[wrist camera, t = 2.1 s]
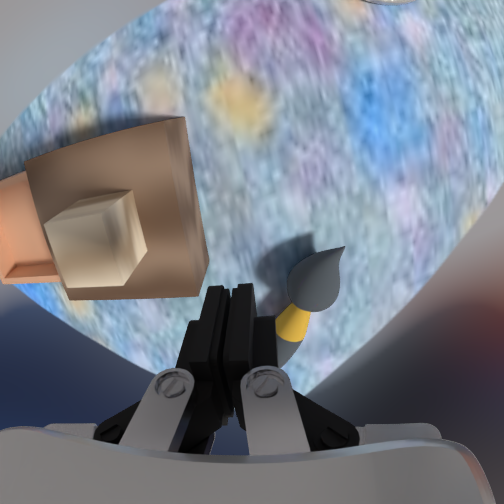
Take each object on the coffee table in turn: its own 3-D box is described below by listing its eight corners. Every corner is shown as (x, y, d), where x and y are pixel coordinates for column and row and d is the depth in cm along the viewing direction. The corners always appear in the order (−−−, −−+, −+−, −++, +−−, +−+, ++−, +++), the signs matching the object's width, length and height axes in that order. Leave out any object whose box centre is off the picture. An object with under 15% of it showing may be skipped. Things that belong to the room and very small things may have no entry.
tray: (-9, 183, 27) (-29, 194, 23) (61, 158, 26) (38, 167, 22) (19, 268, 32) (2, 284, 28) (90, 262, 31) (73, 281, 27)
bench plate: (60, 148, 25) (23, 161, 20) (184, 116, 24) (163, 120, 19) (94, 269, 31) (69, 300, 26) (209, 261, 30) (198, 296, 25)
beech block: (79, 199, 21) (43, 224, 17) (132, 189, 21) (101, 213, 16) (96, 255, 24) (67, 287, 19) (147, 250, 23) (123, 285, 19)
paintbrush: (290, 372, 38) (292, 402, 33) (253, 366, 37) (251, 397, 33) (348, 235, 29) (362, 260, 24) (299, 223, 28) (306, 247, 24)
